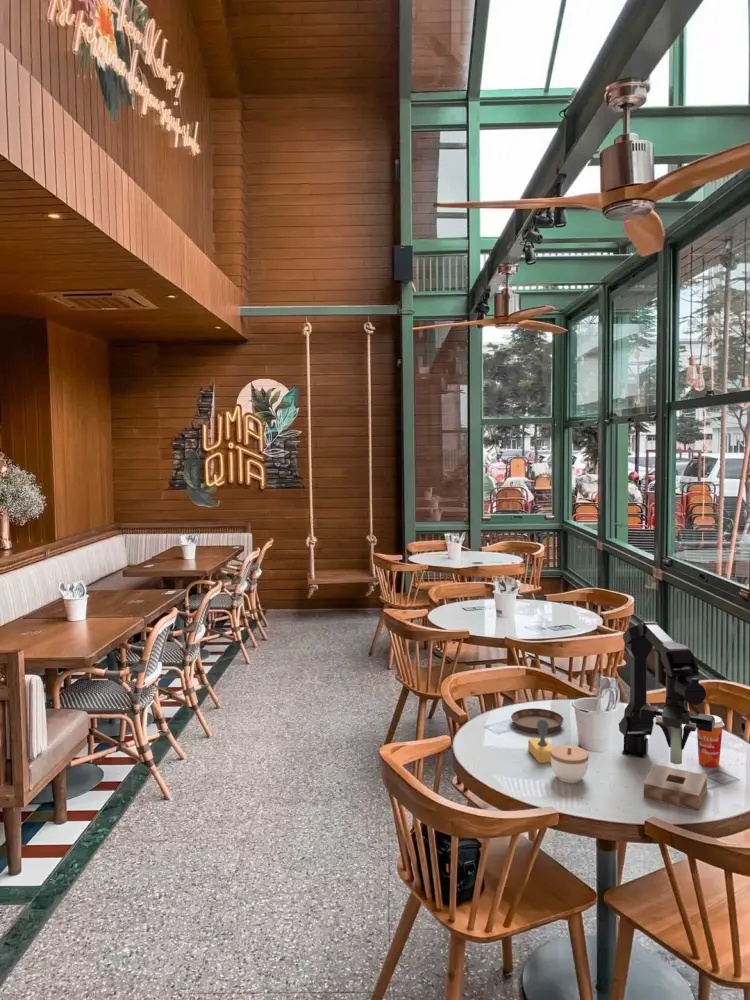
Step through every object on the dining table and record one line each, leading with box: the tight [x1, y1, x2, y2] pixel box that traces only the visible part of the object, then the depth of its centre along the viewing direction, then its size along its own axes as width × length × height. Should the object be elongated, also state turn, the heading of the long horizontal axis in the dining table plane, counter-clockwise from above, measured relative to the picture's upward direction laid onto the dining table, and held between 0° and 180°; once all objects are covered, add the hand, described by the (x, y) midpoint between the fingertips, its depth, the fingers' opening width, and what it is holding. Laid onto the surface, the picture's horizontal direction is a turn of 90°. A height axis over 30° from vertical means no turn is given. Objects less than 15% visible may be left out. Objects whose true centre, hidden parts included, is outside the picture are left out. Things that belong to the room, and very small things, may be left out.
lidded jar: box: [550, 744, 590, 784], centre depth 216 cm, size 11×11×9 cm
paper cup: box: [696, 713, 725, 768], centre depth 224 cm, size 8×8×14 cm
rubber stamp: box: [527, 718, 555, 764], centre depth 232 cm, size 10×6×12 cm, turn 7°
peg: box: [669, 726, 683, 765], centre depth 206 cm, size 3×3×10 cm
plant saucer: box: [510, 707, 565, 734], centre depth 257 cm, size 18×18×3 cm
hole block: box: [643, 763, 708, 811], centre depth 206 cm, size 14×14×4 cm
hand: (676, 748), depth 206 cm, fingers closed on peg, 3 cm apart
